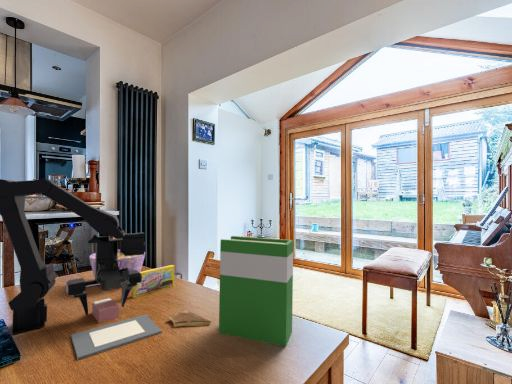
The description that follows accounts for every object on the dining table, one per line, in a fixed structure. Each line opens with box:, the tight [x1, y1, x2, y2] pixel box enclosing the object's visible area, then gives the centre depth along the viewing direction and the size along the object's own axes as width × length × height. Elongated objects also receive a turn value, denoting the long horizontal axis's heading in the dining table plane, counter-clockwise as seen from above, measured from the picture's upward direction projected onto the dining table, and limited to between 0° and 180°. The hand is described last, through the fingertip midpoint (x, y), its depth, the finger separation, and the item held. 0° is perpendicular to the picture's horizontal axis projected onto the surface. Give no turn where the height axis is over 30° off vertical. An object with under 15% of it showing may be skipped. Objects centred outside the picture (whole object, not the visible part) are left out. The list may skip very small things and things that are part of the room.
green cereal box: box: [218, 235, 294, 348], centre depth 69 cm, size 18×7×24 cm, turn 71°
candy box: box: [130, 264, 176, 299], centre depth 97 cm, size 16×2×8 cm, turn 143°
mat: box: [70, 314, 162, 361], centre depth 66 cm, size 18×12×1 cm, turn 131°
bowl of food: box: [88, 248, 146, 286], centre depth 106 cm, size 20×20×12 cm
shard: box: [168, 310, 212, 328], centre depth 73 cm, size 11×8×2 cm
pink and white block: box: [91, 297, 120, 324], centre depth 77 cm, size 5×8×4 cm, turn 44°
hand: (105, 310), depth 77 cm, fingers open, 9 cm apart
